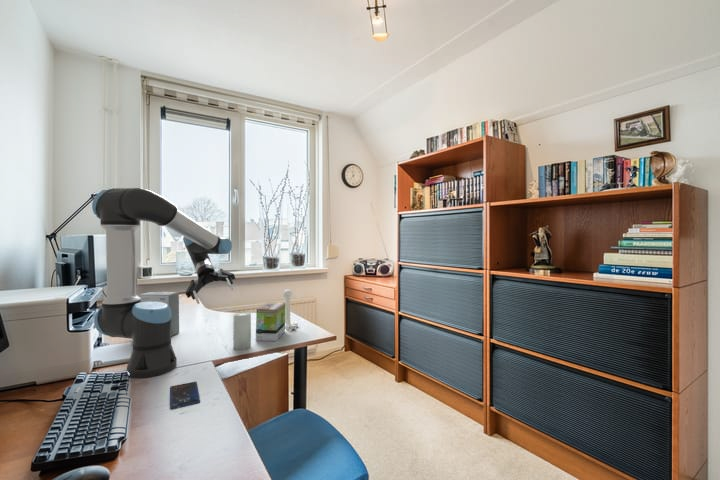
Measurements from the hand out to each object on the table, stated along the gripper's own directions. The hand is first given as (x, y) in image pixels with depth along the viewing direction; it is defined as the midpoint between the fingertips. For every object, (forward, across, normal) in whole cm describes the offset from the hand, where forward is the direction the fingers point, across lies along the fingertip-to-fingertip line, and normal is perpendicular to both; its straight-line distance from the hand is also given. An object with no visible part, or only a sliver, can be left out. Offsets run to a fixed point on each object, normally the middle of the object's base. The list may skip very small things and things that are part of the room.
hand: (214, 294), depth 135 cm
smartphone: (+40, +18, -5) cm, 45 cm away
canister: (+10, -2, -24) cm, 26 cm away
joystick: (-5, -26, -40) cm, 48 cm away
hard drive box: (-27, +29, -26) cm, 47 cm away
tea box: (+2, -15, -32) cm, 36 cm away
